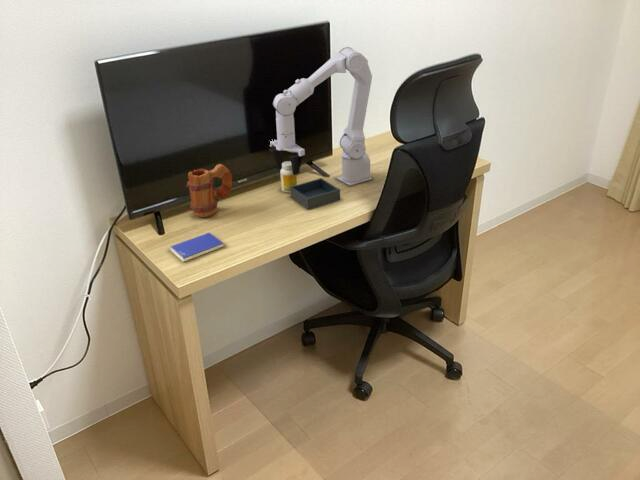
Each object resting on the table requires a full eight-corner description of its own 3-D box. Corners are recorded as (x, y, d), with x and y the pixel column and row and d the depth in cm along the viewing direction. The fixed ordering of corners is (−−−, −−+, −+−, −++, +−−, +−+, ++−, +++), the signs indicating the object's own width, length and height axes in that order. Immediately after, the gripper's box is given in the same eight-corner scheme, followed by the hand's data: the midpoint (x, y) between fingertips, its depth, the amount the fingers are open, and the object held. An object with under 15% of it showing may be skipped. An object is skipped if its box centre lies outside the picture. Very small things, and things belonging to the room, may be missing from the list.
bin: (321, 188, 196) (321, 178, 194) (340, 199, 188) (340, 189, 186) (290, 197, 191) (290, 187, 189) (308, 209, 182) (307, 199, 181)
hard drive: (183, 257, 156) (222, 242, 163) (169, 245, 162) (208, 231, 169) (183, 262, 157) (223, 247, 164) (170, 250, 163) (209, 236, 169)
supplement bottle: (278, 189, 196) (276, 163, 192) (290, 184, 199) (289, 158, 194) (287, 194, 193) (286, 167, 188) (300, 189, 196) (299, 163, 191)
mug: (194, 222, 177) (187, 177, 170) (186, 212, 184) (179, 168, 176) (239, 211, 183) (234, 167, 175) (230, 201, 189) (225, 158, 182)
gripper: (261, 130, 187) (264, 169, 194) (292, 140, 179) (295, 180, 186) (277, 124, 192) (279, 163, 199) (308, 134, 183) (310, 173, 190)
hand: (288, 171), depth 192 cm, fingers open, 7 cm apart
